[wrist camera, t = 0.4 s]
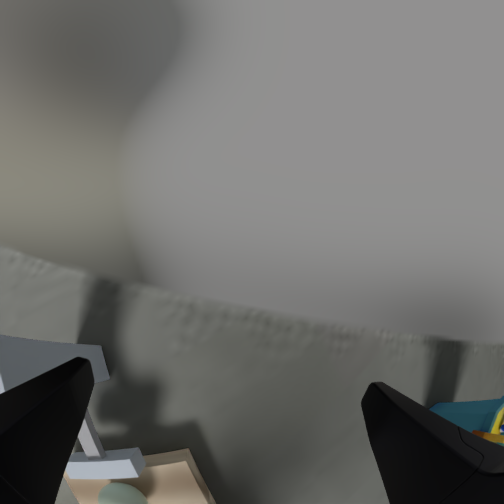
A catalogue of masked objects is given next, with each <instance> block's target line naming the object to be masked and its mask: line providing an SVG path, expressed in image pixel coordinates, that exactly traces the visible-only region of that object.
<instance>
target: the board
mask: <svg viewBox="0 0 504 504" xmlns="http://www.w3.org/2000/svg"><path fill="white" fill-rule="evenodd" d="M143 458H144V460H145V462H146V465H145V467H144V469H143V470H142V472H141V474H140V476H139V477H135V478H121V479H70V478H69V476H68V474H67V472H66V470H65V472H64V477H65V479H66V481H67V483H68V485H69V487H70V488H71V490H72V492H73V494H74V495H75V497H76V499H77V500H78V502H79V504H98V494H99V492H100V490H101V489H102V488H103V487H104V486H105V485H107V484H110V483H115V482H120V483H126V484H129V485H131V486H133V487H135V488H137V489H138V490H139V491H140V492H141V493H143V495H144V496H145V497H146V499H147V501H148V503H149V504H216V502H215V500H214V499H213V497H212V495H211V493H210V491H209V489H208V487H207V485H206V483H205V481H204V479H203V477H202V475H201V473H200V471H199V469H198V467H197V465H196V463H195V461H194V459H193V456H192V454H191V452H190V450H189V448H186V449H181V450H176V451H171V452H165V453H159V454H153V455H146V456H143Z"/></svg>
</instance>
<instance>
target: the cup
mask: <svg viewBox="0 0 504 504" xmlns="http://www.w3.org/2000/svg"><path fill="white" fill-rule="evenodd" d="M429 410H431V411H433V412H434V413H436V414H438V415H440V416H441V417H443V418H445V419H447V420H449V421H450V422H452V423H454V424H456V425H457V426H460V427H462V428H463V429H465V430H467V431H469V432H471V433H473V434H475V435H477V436H480V437H482V438H484V439H487V440H489V441H492V442H494V443H497V444H499V445H502V446H504V396H503V397H502V398H501V399H493V400H483V401H469V402H445V403H437V404H435V405H434V406H433V407H431V408H430V409H429Z"/></svg>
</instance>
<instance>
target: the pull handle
mask: <svg viewBox="0 0 504 504" xmlns="http://www.w3.org/2000/svg"><path fill="white" fill-rule="evenodd" d="M78 356H79V357H83V358H87V359H89V360H90V362H91V366H92V370H93V375H94V384H95V383H99V382H102V381H106V380H109V379H110V377H109V373H108V370H107V366H106V363H105V359H104V356H103V352H102V348H101V345H87V344H73V343H61V342H51V341H42V340H33V339H26V338H19V337H12V336H6V335H0V394H1V393H3V392H5V391H7V390H9V389H12V388H14V387H16V386H18V385H20V384H22V383H24V382H26V381H28V380H30V379H32V378H34V377H37V376H39V375H41V374H43V373H45V372H47V371H49V370H51V369H53V368H55V367H57V366H59V365H61V364H63V363H65V362H67V361H69V360H71V359H73V358H75V357H78ZM78 438H79V440H80V443H81V445H82V447H83V450H84V452H75V453H73V454H72V455H71V456H70V458H69V461H68V464H67V466H66V469H65V470H66V472H67V474H68V476H69V478H70V479H121V478H135V477H139V476H140V474H141V472H142V470H143V469H144V467H145V465H146V462H145V460H144V458H143V456H142V453H141V451H140V449H139V447H137V448H129V449H119V450H108V451H104V449H103V447H102V444H101V442H100V440H99V437H98V435H97V432H96V430H95V427H94V425H93V422H92V420H91V417H90V414H89V411H88V409H87V411H86V414H85V418H84V421H83V424H82V427H81V429H80V432H79V434H78Z"/></svg>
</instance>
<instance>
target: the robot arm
mask: <svg viewBox="0 0 504 504" xmlns="http://www.w3.org/2000/svg"><path fill="white" fill-rule="evenodd" d="M93 387H94V375H93V370H92V366H91V362H90V360H89V359H87V358H83V357H79V356H78V357H75V358H73V359H71V360H69V361H67V362H65V363H63V364H61V365H59V366H57V367H55V368H53V369H51V370H49V371H47V372H45V373H43V374H41V375H39V376H37V377H34V378H32V379H30V380H28V381H26V382H24V383H22V384H20V385H18V386H16V387H14V388H12V389H9V390H7V391H5V392H3V393H1V394H0V504H55V500H56V497H57V494H58V490H59V487H60V484H61V481H62V478H63V475H64V472H65V469H66V466H67V464H68V461H69V458H70V455H71V453H72V450H73V447H74V445H75V442H76V439H77V437H78V434H79V432H80V429H81V427H82V424H83V421H84V418H85V414H86V411H87V407H88V404H89V400H90V397H91V394H92V390H93ZM361 407H362V411H363V415H364V420H365V424H366V428H367V433H368V437H369V441H370V444H371V447H372V450H373V453H374V456H375V459H376V462H377V465H378V468H379V471H380V474H381V477H382V480H383V483H384V487H385V490H386V493H387V496H388V499H389V503H390V504H504V446H502V445H499V444H497V443H494V442H492V441H489V440H487V439H484V438H482V437H480V436H477V435H475V434H473V433H471V432H469V431H467V430H465V429H463V428H462V427H460V426H457V425H456V424H454V423H452V422H450V421H449V420H447V419H445V418H443V417H441V416H440V415H438V414H436V413H434V412H433V411H431V410H429V409H427V408H426V407H424V406H422V405H420V404H419V403H417V402H415V401H413V400H412V399H410V398H408V397H407V396H405V395H403V394H402V393H400V392H398V391H396V390H395V389H393V388H391V387H390V386H388V385H386V384H385V383H383V382H373V383H371V384H370V385H369V386H368V388H367V390H366V392H365V394H364V396H363V398H362V401H361Z"/></svg>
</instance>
